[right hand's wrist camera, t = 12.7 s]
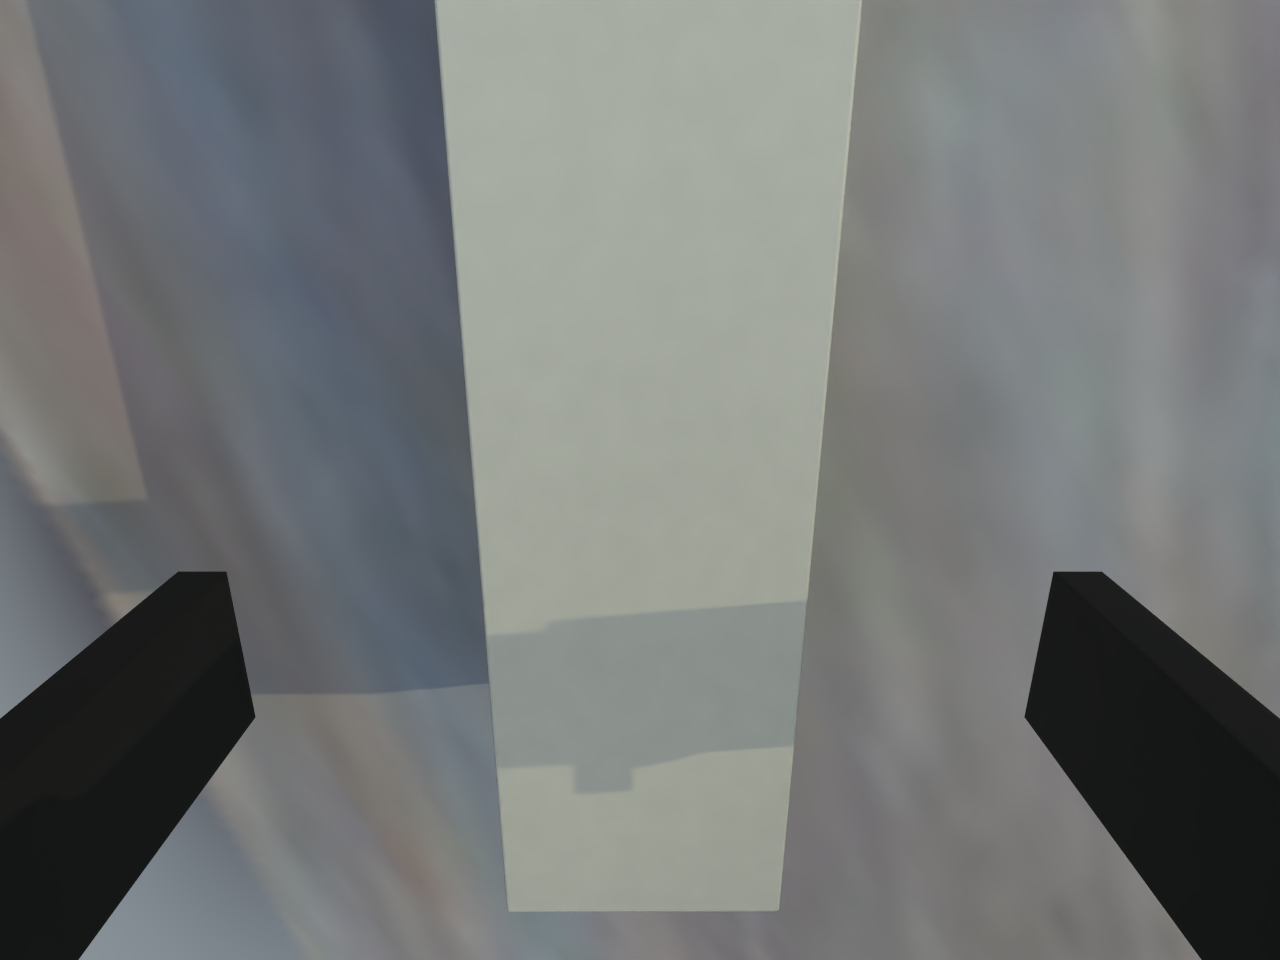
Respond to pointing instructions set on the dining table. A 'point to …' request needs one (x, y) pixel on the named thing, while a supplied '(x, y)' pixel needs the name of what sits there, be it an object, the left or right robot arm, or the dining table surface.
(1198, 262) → the dining table surface
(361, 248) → the dining table surface
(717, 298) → the bar
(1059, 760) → the right robot arm
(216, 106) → the dining table surface
